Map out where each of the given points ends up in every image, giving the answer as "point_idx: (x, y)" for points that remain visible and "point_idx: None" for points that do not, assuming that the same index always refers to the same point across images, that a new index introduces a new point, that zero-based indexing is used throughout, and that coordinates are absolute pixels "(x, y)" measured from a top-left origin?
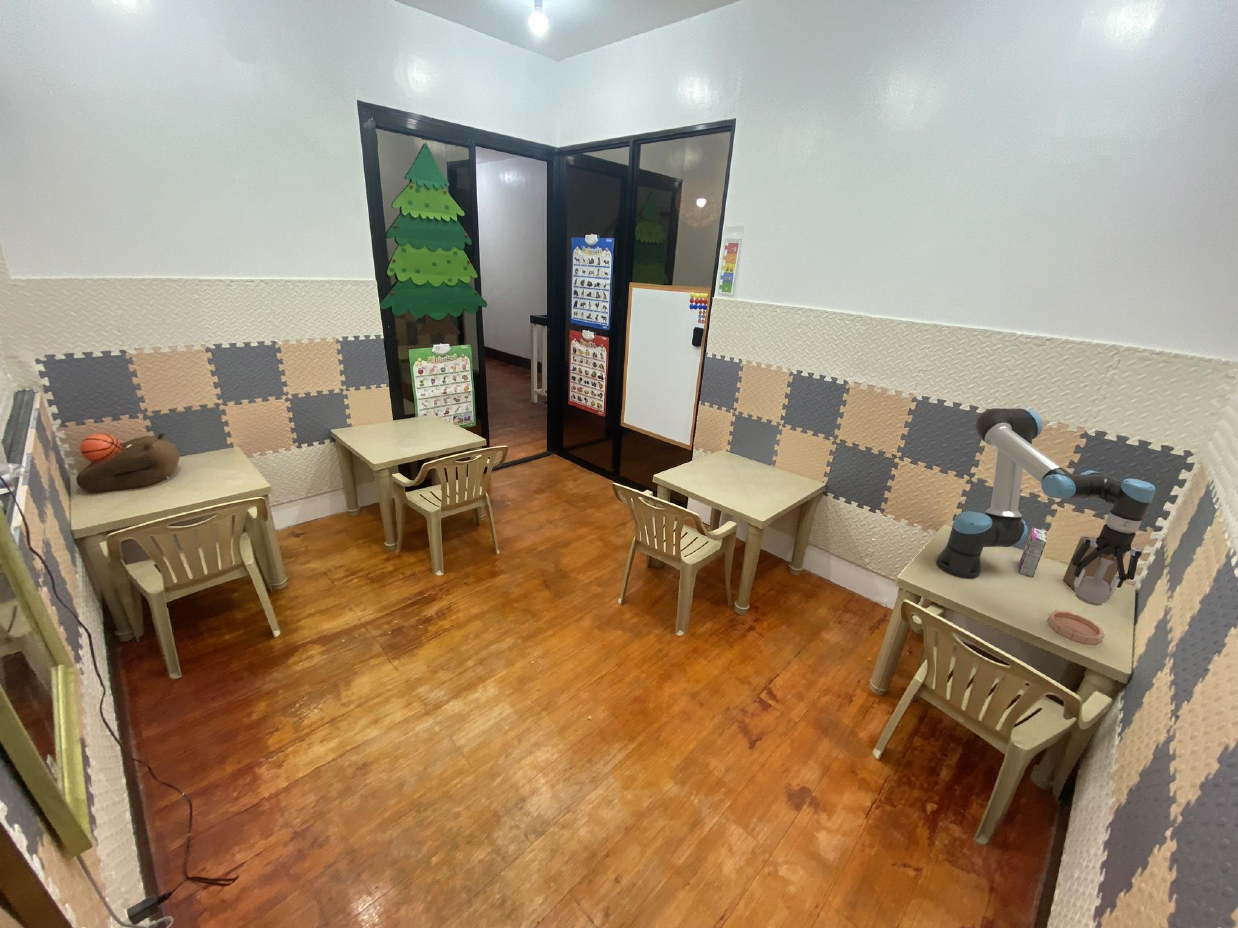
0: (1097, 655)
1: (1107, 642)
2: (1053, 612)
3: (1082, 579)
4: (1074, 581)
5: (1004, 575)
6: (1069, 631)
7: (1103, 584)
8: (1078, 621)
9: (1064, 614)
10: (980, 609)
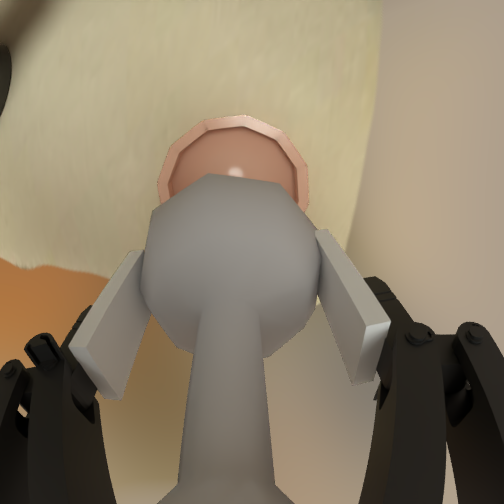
0: None
1: (317, 193)
2: (165, 167)
3: (147, 304)
4: (126, 259)
5: (62, 6)
6: None
7: (269, 341)
8: (246, 131)
9: (201, 135)
10: (45, 260)
